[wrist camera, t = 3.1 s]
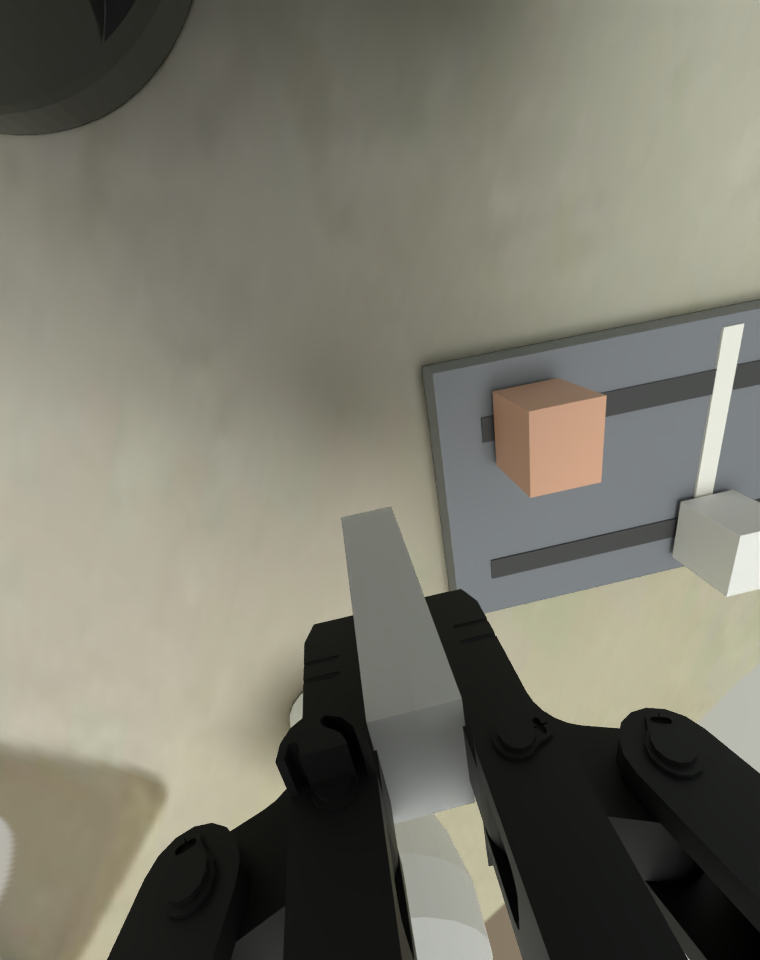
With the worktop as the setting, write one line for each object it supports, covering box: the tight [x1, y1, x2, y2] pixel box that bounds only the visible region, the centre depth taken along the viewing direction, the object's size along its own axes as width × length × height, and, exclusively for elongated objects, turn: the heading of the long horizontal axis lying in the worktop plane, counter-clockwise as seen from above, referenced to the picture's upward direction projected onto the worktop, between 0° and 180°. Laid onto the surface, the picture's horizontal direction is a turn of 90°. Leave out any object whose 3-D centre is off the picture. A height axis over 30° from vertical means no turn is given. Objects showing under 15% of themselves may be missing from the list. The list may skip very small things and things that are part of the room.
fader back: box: [672, 490, 760, 597], centre depth 22 cm, size 4×3×4 cm
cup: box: [290, 693, 493, 960], centre depth 22 cm, size 11×11×15 cm
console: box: [422, 300, 760, 613], centre depth 23 cm, size 14×20×2 cm
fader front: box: [492, 378, 607, 498], centre depth 18 cm, size 4×3×4 cm
